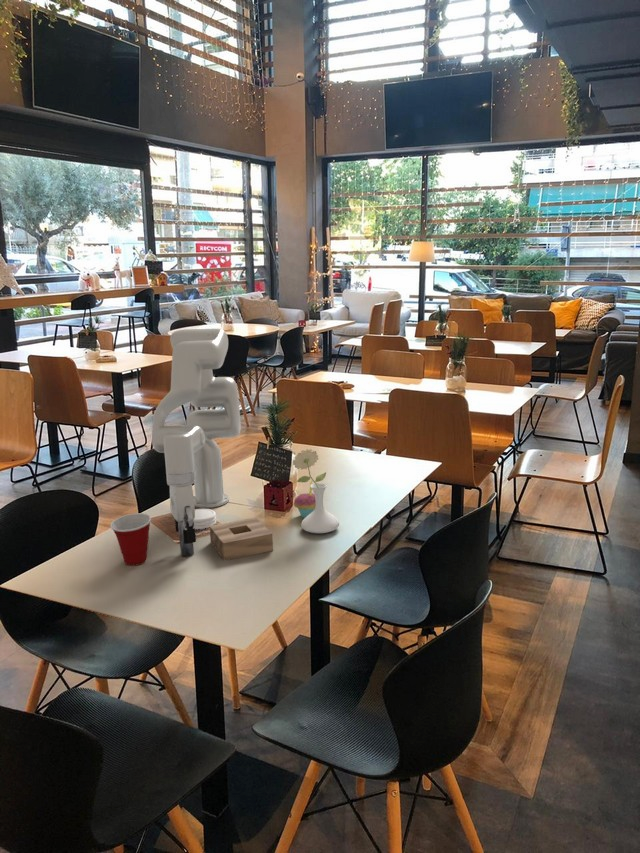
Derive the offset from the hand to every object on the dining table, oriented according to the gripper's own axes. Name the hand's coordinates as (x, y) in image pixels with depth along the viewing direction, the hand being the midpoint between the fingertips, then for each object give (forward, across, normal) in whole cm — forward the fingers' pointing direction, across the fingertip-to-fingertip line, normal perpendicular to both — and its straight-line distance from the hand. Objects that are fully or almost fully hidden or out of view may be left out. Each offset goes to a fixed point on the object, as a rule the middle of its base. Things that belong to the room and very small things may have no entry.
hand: (185, 536), depth 193 cm
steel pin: (+5, 0, 0) cm, 5 cm away
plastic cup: (+6, -2, -14) cm, 15 cm away
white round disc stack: (+6, -21, +9) cm, 24 cm away
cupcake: (+5, -11, +41) cm, 43 cm away
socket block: (+5, +2, +15) cm, 16 cm away
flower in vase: (+5, +1, +39) cm, 39 cm away
